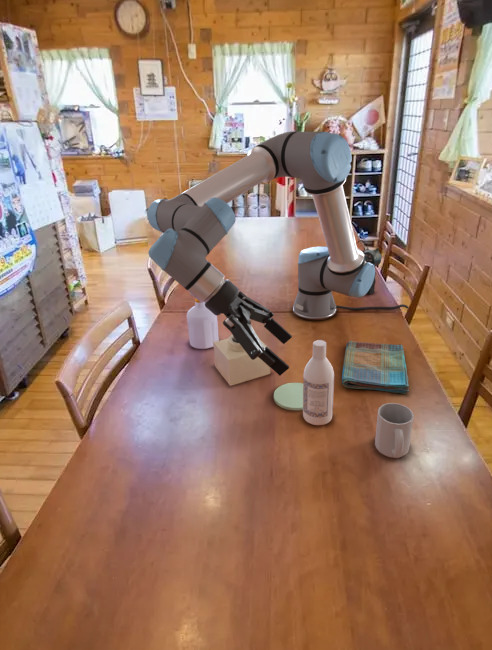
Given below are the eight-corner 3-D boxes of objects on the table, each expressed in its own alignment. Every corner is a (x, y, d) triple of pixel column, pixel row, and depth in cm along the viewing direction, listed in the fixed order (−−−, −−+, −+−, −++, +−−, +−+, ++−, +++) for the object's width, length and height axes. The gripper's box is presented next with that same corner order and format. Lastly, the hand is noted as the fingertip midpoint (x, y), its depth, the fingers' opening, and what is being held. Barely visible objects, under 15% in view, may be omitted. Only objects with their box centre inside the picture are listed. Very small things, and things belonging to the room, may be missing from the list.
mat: (309, 382, 121) (310, 379, 120) (322, 406, 111) (323, 404, 111) (269, 388, 119) (269, 385, 118) (279, 413, 109) (279, 410, 109)
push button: (244, 335, 125) (244, 328, 124) (250, 341, 122) (250, 334, 121) (231, 338, 123) (230, 332, 123) (236, 345, 120) (236, 338, 119)
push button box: (253, 356, 134) (252, 325, 129) (270, 373, 125) (269, 341, 121) (215, 366, 129) (212, 335, 124) (230, 385, 120) (227, 353, 116)
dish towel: (340, 388, 118) (341, 380, 117) (345, 345, 139) (346, 338, 138) (408, 395, 115) (410, 386, 114) (403, 349, 136) (404, 342, 134)
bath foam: (314, 404, 112) (316, 332, 103) (338, 415, 108) (341, 341, 99) (297, 418, 107) (297, 344, 99) (321, 430, 103) (323, 354, 94)
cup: (405, 436, 101) (409, 403, 97) (415, 468, 92) (420, 434, 88) (372, 435, 101) (375, 402, 97) (379, 468, 92) (383, 433, 88)
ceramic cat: (379, 292, 176) (384, 242, 168) (370, 297, 172) (374, 246, 163) (338, 280, 189) (340, 233, 180) (328, 284, 184) (330, 236, 176)
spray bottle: (221, 336, 145) (216, 263, 135) (215, 350, 137) (208, 273, 127) (194, 335, 146) (186, 262, 136) (186, 349, 138) (177, 273, 128)
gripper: (214, 281, 108) (278, 338, 113) (188, 328, 85) (269, 397, 91) (235, 260, 105) (299, 319, 111) (214, 303, 83) (296, 375, 88)
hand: (286, 354), depth 101 cm, fingers open, 13 cm apart
